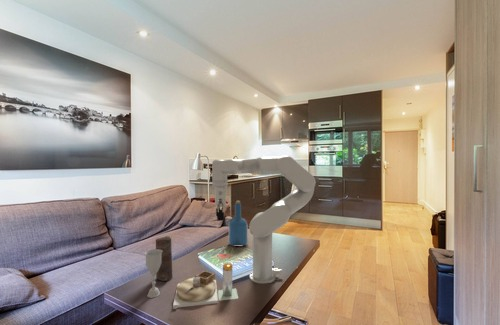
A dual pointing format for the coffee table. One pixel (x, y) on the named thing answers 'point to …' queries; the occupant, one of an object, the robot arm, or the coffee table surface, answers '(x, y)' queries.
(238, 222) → the wine bottle
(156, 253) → the chalice
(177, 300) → the dial base
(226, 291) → the small glass bottle
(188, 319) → the coffee table surface
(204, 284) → the dial
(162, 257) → the candle
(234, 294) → the pad
